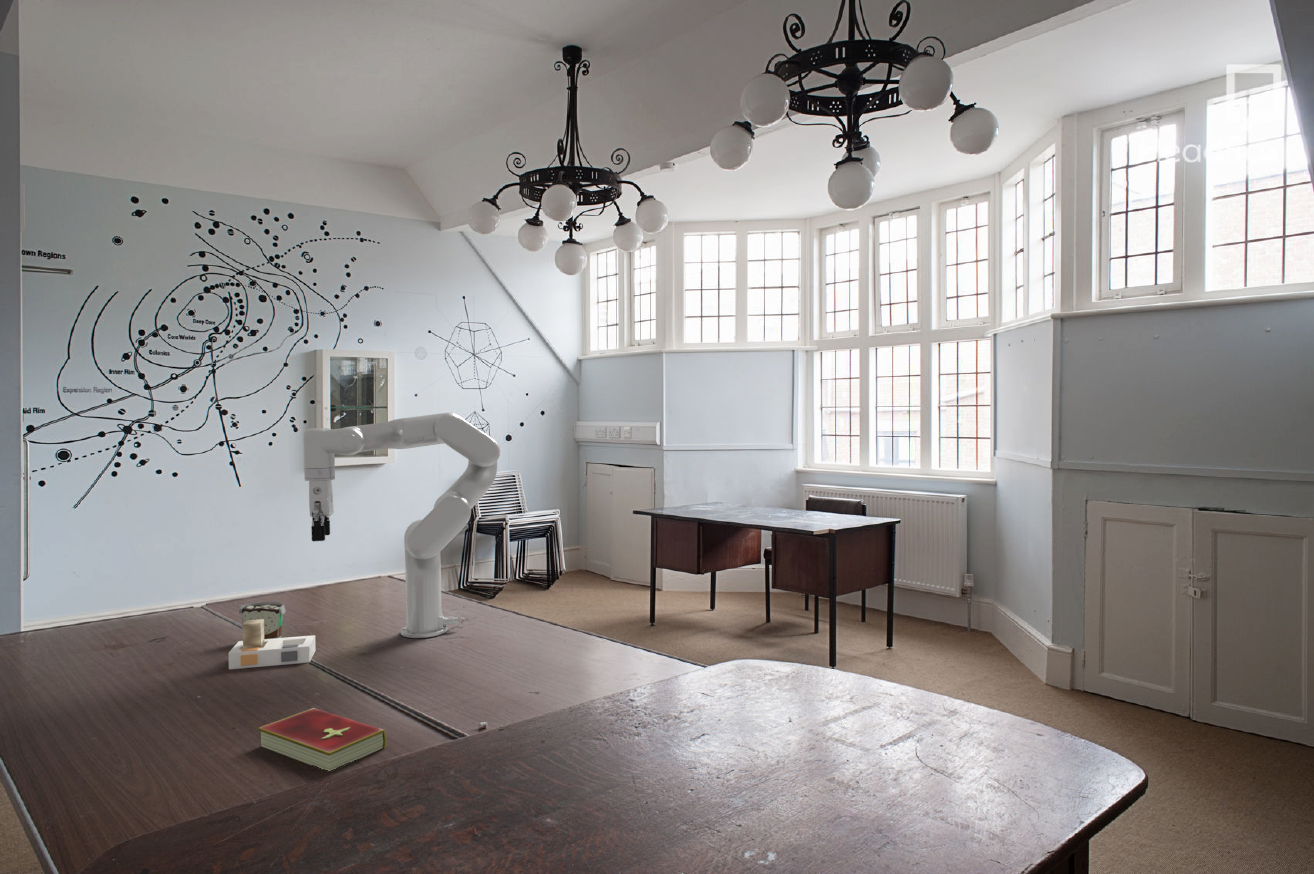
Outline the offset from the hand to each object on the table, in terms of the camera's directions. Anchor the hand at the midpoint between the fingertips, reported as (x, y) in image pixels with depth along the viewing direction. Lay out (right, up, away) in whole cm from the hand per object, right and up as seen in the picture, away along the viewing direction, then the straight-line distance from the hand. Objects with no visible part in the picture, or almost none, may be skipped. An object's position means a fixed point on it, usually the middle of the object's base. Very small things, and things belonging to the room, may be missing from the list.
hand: (321, 537), depth 209 cm
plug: (-10, -29, -15) cm, 34 cm away
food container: (-16, -29, +4) cm, 33 cm away
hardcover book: (+28, -31, -65) cm, 77 cm away
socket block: (-6, -29, -13) cm, 32 cm away
